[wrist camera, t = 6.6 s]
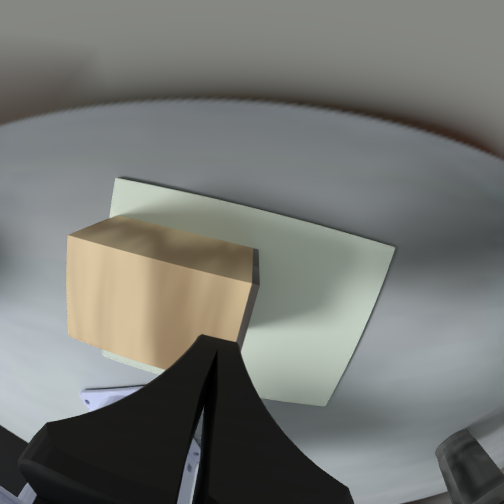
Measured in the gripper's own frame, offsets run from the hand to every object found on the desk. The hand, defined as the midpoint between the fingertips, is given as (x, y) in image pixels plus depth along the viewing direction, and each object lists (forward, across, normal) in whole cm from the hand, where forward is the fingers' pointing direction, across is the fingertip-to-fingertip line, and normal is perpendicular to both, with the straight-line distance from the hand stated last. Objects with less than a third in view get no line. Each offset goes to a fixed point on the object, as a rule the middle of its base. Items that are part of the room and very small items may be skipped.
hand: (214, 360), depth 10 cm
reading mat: (+7, 0, +2) cm, 7 cm away
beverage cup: (+7, -28, +14) cm, 32 cm away
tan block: (+4, -1, 0) cm, 4 cm away
